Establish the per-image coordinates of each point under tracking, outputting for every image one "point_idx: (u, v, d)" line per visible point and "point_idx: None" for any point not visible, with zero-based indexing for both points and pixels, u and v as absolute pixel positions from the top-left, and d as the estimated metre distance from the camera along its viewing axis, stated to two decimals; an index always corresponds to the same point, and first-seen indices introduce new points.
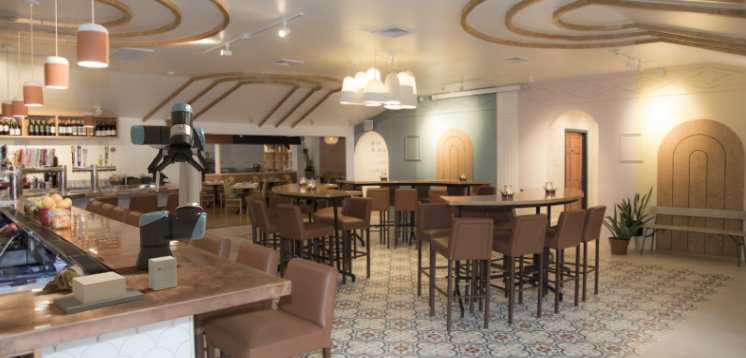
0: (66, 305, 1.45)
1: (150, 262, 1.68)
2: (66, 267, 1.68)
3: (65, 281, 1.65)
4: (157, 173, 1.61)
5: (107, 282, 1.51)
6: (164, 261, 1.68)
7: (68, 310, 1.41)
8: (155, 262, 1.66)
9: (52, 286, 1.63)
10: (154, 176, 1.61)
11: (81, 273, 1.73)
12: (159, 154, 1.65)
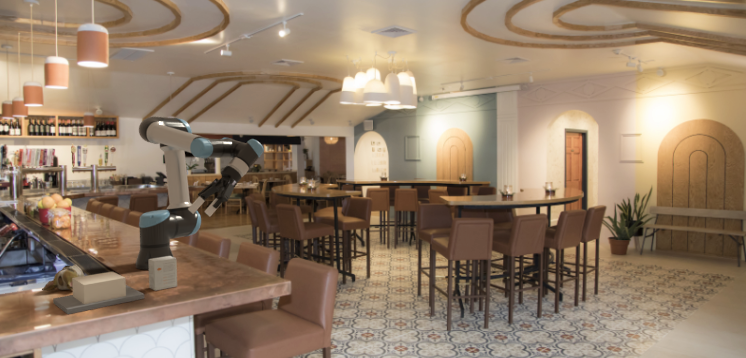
0: (66, 305, 1.45)
1: (150, 262, 1.68)
2: (66, 267, 1.68)
3: (65, 281, 1.65)
4: None
5: (107, 282, 1.51)
6: (164, 261, 1.68)
7: (68, 310, 1.41)
8: (155, 262, 1.66)
9: (52, 286, 1.63)
10: None
11: (81, 273, 1.73)
12: None
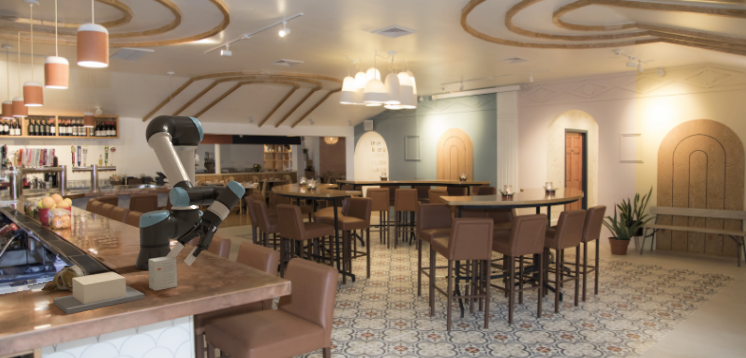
0: (66, 305, 1.45)
1: (150, 262, 1.68)
2: (65, 267, 1.68)
3: (65, 281, 1.64)
4: None
5: (107, 282, 1.51)
6: (164, 261, 1.68)
7: (68, 310, 1.41)
8: (155, 262, 1.66)
9: (51, 286, 1.63)
10: None
11: (80, 273, 1.72)
12: None
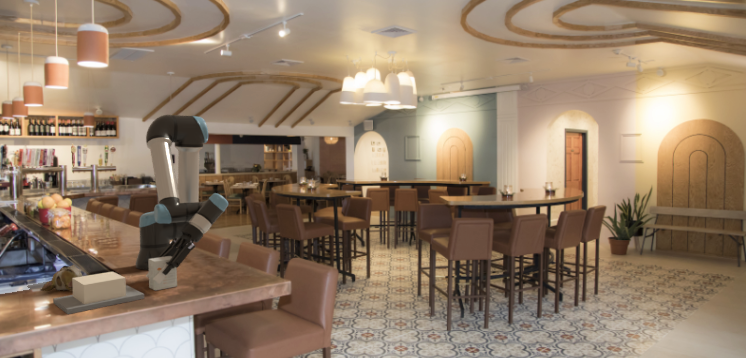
0: (66, 305, 1.45)
1: (150, 262, 1.68)
2: (64, 268, 1.67)
3: (64, 281, 1.64)
4: None
5: (107, 282, 1.51)
6: (164, 261, 1.68)
7: (68, 310, 1.41)
8: (155, 262, 1.66)
9: (50, 287, 1.62)
10: None
11: (79, 273, 1.72)
12: None
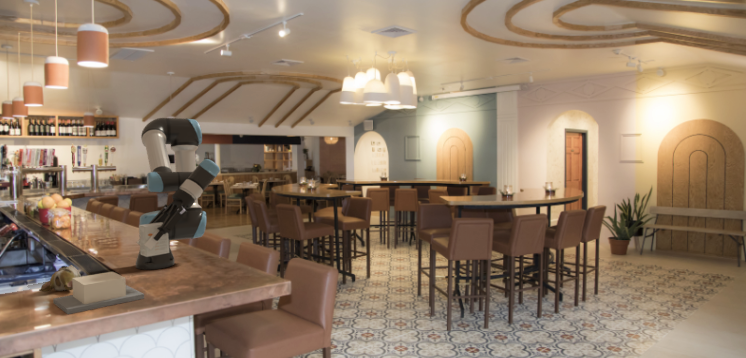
0: (66, 305, 1.45)
1: (141, 228, 1.63)
2: (62, 268, 1.67)
3: (62, 281, 1.64)
4: None
5: (107, 282, 1.51)
6: (155, 226, 1.64)
7: (68, 310, 1.41)
8: (146, 227, 1.61)
9: (49, 287, 1.62)
10: None
11: (77, 274, 1.72)
12: None
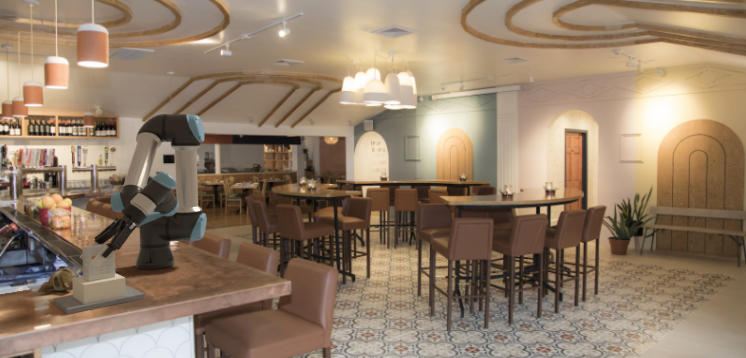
0: (66, 305, 1.45)
1: (84, 250, 1.51)
2: (61, 268, 1.67)
3: (61, 282, 1.63)
4: None
5: (107, 282, 1.51)
6: (100, 249, 1.52)
7: (68, 310, 1.41)
8: (89, 249, 1.49)
9: (48, 287, 1.61)
10: None
11: (75, 274, 1.71)
12: None
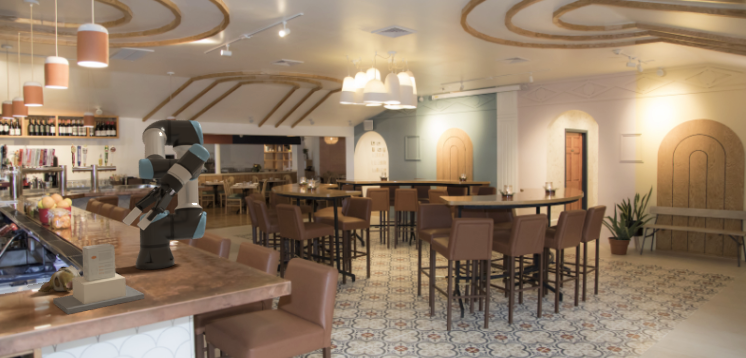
0: (66, 305, 1.45)
1: (84, 250, 1.51)
2: (62, 268, 1.66)
3: (62, 282, 1.63)
4: None
5: (107, 282, 1.51)
6: (100, 249, 1.52)
7: (68, 310, 1.41)
8: (89, 249, 1.49)
9: (48, 287, 1.61)
10: None
11: (77, 274, 1.71)
12: None
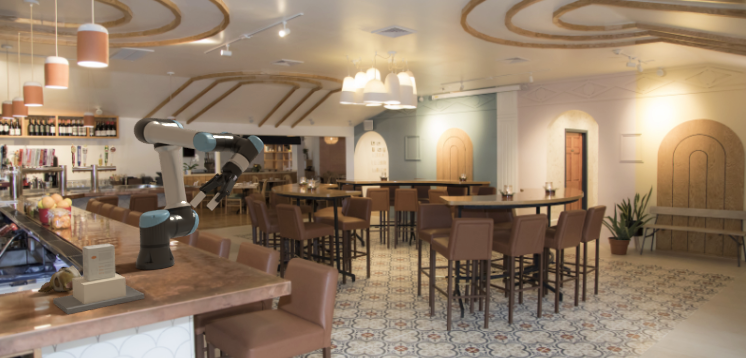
0: (66, 305, 1.45)
1: (84, 250, 1.51)
2: (62, 268, 1.66)
3: (61, 282, 1.63)
4: None
5: (107, 282, 1.51)
6: (100, 249, 1.52)
7: (68, 310, 1.41)
8: (89, 249, 1.50)
9: (48, 288, 1.61)
10: None
11: (77, 274, 1.71)
12: None
